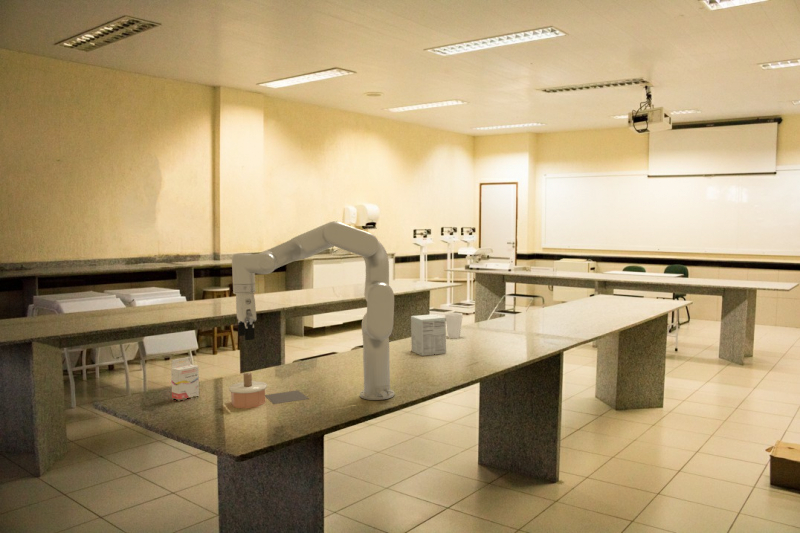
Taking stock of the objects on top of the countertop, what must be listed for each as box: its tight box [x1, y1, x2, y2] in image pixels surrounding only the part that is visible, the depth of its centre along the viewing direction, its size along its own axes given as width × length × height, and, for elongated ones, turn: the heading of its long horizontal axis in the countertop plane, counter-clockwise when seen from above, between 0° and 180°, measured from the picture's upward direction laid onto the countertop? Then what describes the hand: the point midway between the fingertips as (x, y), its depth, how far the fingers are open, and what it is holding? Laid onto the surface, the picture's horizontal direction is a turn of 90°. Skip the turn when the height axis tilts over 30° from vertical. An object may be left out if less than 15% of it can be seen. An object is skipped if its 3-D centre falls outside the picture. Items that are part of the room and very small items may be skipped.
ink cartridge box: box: [170, 356, 200, 399], centre depth 229 cm, size 9×5×15 cm, turn 141°
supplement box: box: [410, 313, 447, 356], centre depth 301 cm, size 13×13×18 cm
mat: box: [265, 390, 310, 405], centre depth 226 cm, size 13×13×1 cm
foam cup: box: [444, 312, 463, 340], centre depth 339 cm, size 10×9×13 cm
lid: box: [228, 372, 268, 393], centre depth 218 cm, size 13×13×5 cm
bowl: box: [230, 389, 266, 409], centre depth 219 cm, size 11×11×6 cm
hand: (246, 337), depth 217 cm, fingers open, 9 cm apart
